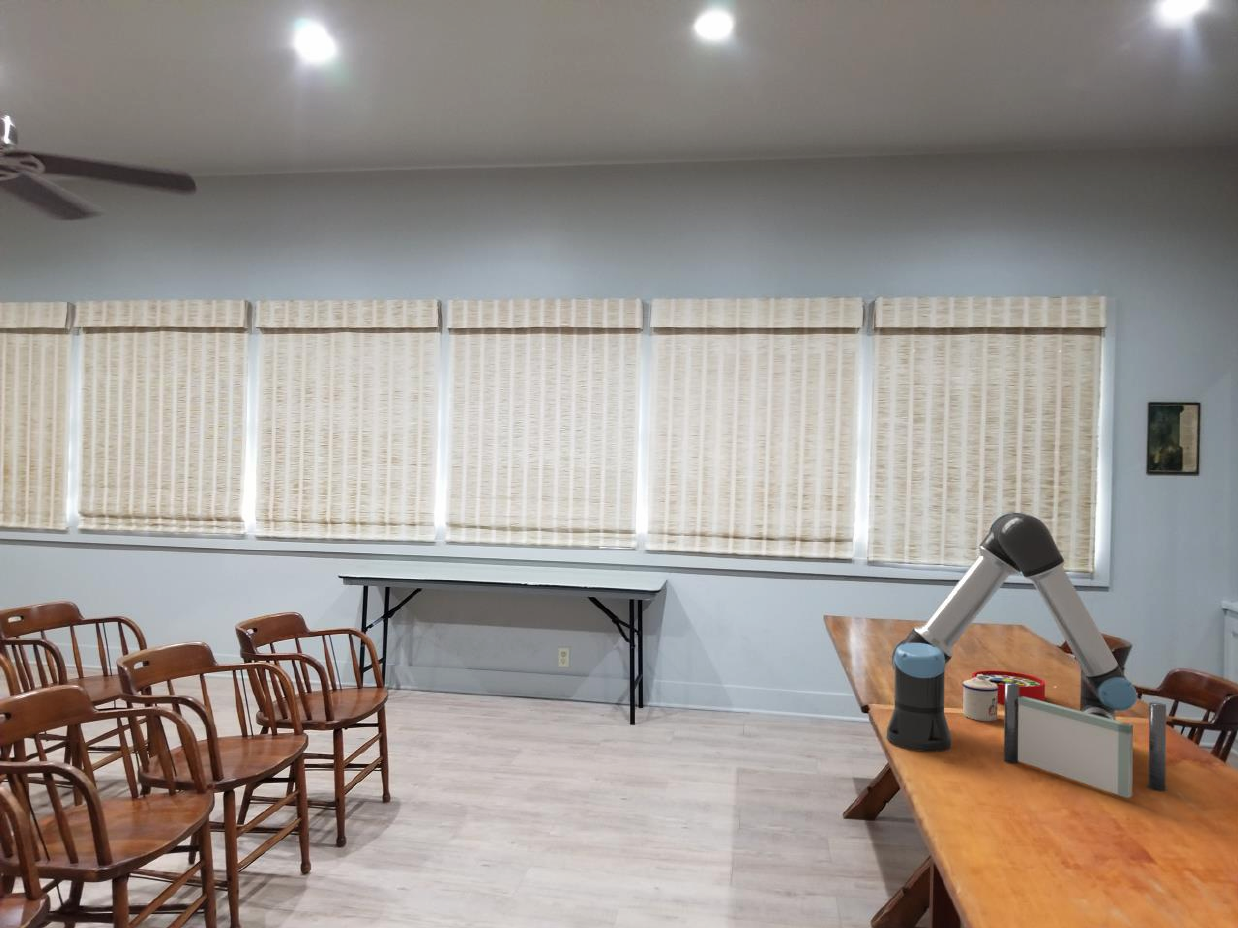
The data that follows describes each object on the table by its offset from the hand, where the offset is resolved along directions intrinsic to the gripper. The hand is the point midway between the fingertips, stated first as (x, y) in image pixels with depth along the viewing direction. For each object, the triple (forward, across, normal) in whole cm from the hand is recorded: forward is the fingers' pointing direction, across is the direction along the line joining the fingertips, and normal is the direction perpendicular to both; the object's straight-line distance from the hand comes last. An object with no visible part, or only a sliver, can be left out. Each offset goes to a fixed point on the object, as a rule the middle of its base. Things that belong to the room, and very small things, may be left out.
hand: (1097, 755), depth 171 cm
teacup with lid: (-44, +28, -7) cm, 52 cm away
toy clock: (-71, +24, -7) cm, 75 cm away
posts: (-8, +3, -7) cm, 11 cm away
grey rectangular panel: (-1, +5, -6) cm, 8 cm away
